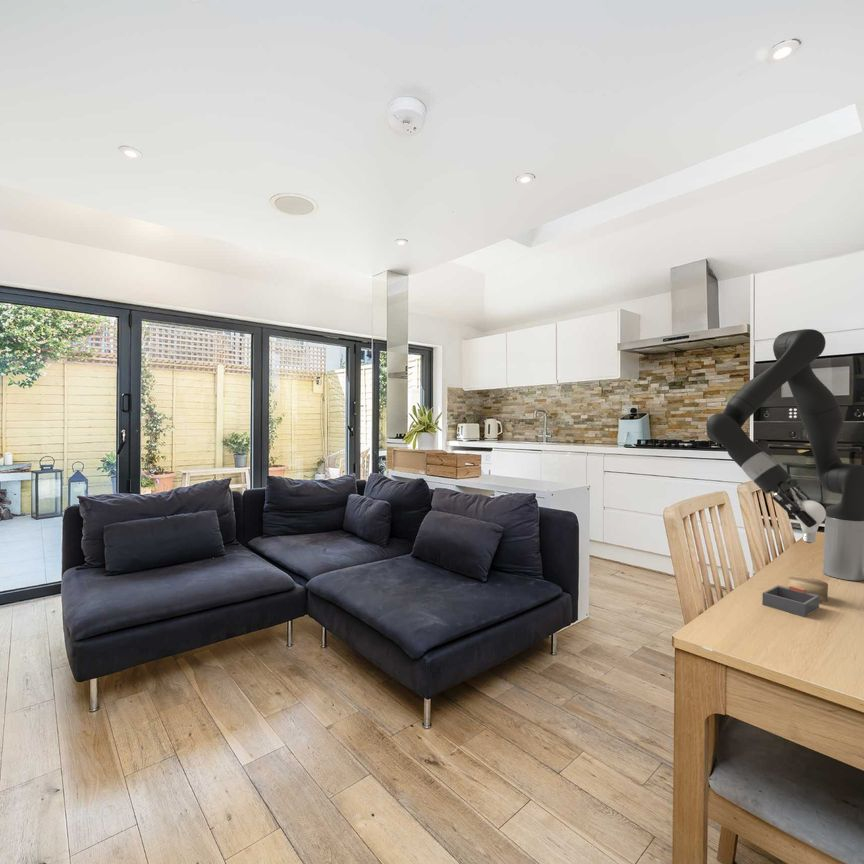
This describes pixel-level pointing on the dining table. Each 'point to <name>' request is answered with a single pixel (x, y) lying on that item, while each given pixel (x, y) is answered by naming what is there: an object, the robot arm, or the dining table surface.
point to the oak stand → (810, 586)
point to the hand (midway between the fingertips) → (817, 523)
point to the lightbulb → (817, 514)
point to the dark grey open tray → (791, 600)
